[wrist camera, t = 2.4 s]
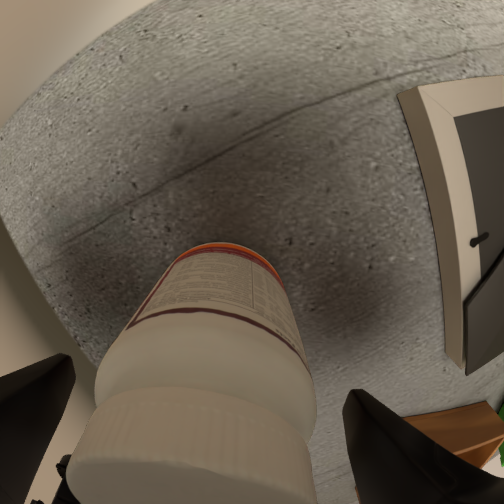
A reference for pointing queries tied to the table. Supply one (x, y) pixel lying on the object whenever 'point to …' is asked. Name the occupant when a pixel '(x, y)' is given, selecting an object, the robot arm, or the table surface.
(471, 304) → the picture frame
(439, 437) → the oak box
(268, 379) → the pill bottle
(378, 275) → the table surface
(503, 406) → the fruit basket
